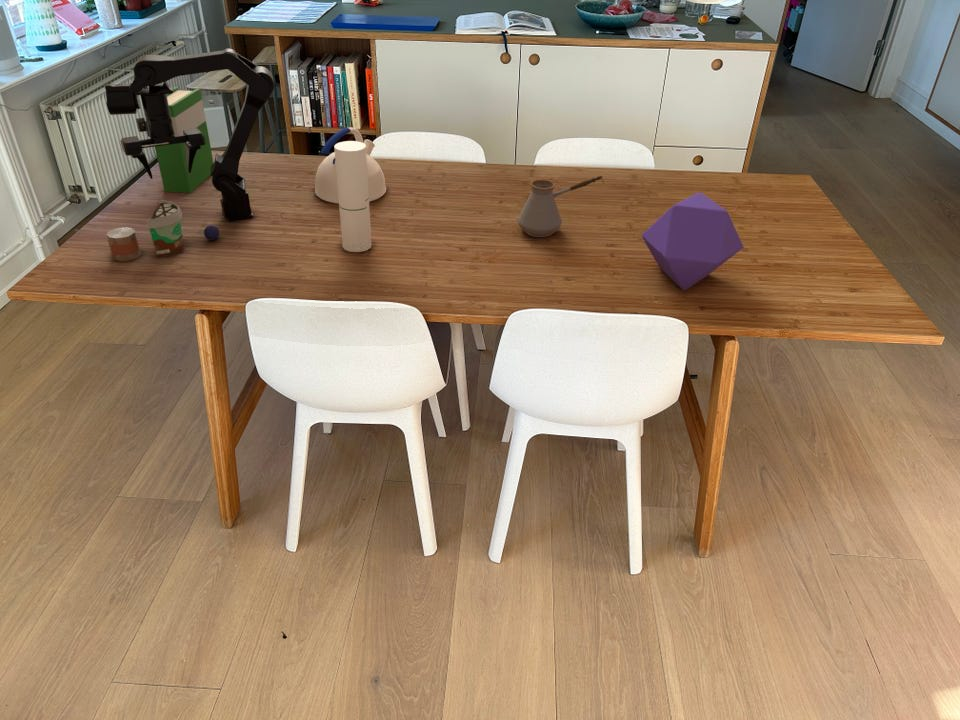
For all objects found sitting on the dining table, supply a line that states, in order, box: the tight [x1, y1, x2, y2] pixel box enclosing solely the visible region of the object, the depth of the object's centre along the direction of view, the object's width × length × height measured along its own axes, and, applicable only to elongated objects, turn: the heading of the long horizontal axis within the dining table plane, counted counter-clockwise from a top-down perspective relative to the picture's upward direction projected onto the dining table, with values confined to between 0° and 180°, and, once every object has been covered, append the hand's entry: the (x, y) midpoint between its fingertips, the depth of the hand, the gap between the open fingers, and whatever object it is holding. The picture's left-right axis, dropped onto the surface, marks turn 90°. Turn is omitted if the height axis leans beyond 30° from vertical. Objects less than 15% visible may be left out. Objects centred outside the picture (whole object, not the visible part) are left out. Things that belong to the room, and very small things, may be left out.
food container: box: [146, 199, 185, 258], centre depth 177 cm, size 12×6×10 cm, turn 6°
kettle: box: [314, 127, 387, 205], centre depth 208 cm, size 20×21×18 cm
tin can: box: [106, 226, 141, 262], centre depth 174 cm, size 6×6×6 cm
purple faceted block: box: [641, 191, 744, 291], centre depth 170 cm, size 22×20×20 cm
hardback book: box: [154, 86, 214, 194], centre depth 209 cm, size 18×7×24 cm, turn 174°
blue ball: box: [203, 225, 220, 241], centre depth 183 cm, size 4×4×4 cm
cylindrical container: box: [333, 140, 372, 253], centre depth 177 cm, size 7×7×25 cm
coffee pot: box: [517, 175, 605, 238], centre depth 190 cm, size 21×12×15 cm, turn 94°
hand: (170, 175), depth 187 cm, fingers open, 9 cm apart
